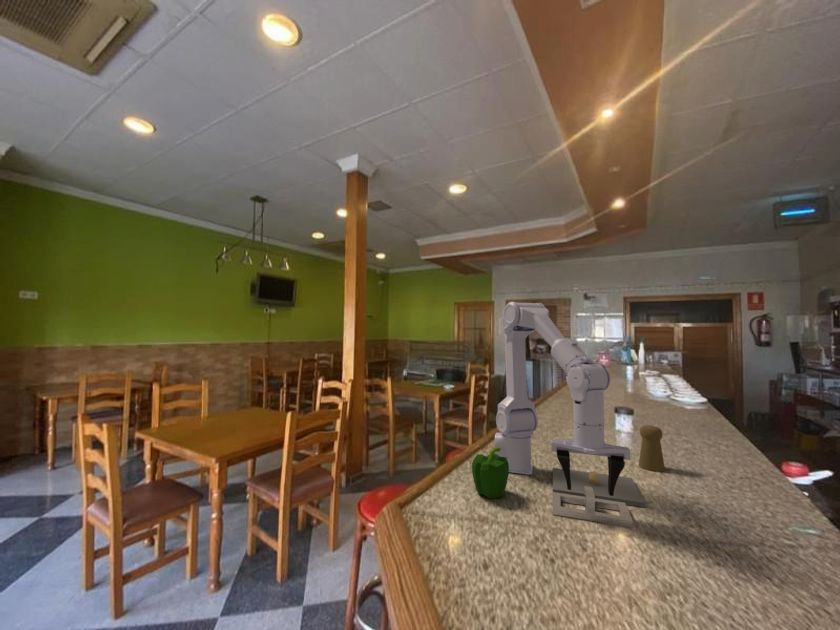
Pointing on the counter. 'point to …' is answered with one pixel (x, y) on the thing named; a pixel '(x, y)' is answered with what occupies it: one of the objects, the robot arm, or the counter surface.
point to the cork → (651, 449)
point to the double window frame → (592, 508)
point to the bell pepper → (490, 474)
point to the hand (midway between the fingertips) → (589, 490)
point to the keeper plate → (598, 486)
